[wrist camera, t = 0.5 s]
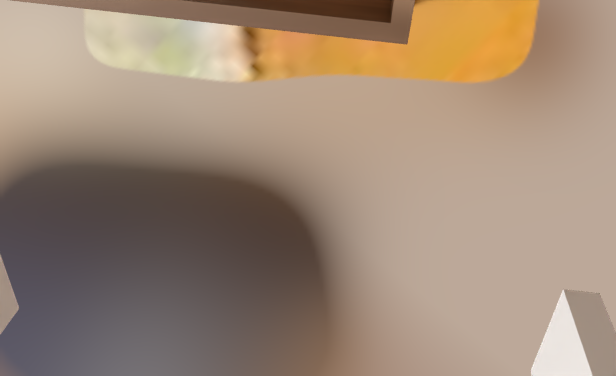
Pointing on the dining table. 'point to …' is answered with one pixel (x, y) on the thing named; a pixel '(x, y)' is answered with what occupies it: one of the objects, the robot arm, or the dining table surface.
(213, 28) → the dining table surface
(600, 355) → the robot arm
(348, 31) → the rectangular wooden frame
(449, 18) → the dining table surface
